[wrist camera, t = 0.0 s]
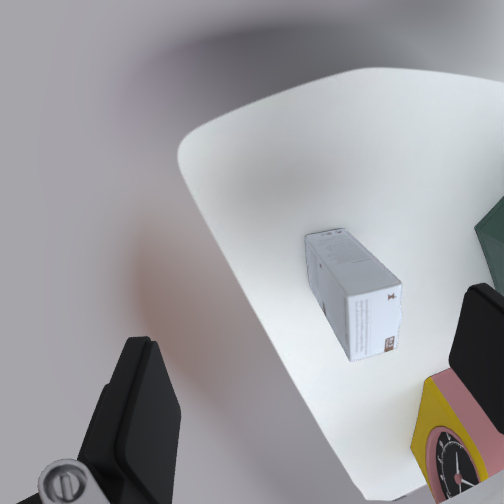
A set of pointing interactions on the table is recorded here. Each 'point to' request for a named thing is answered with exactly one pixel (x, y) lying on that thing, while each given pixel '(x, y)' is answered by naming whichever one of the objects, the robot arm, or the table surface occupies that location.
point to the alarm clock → (454, 438)
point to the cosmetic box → (354, 293)
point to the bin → (494, 243)
